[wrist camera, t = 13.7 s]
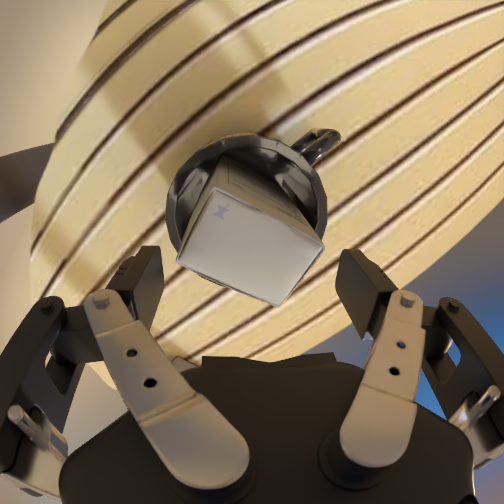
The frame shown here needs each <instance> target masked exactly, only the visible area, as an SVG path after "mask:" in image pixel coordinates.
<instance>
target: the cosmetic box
mask: <svg viewBox="0 0 504 504" xmlns="http://www.w3.org/2000/svg"><path fill="white" fill-rule="evenodd" d="M324 250H325V246H324V244H323V242H322V241H321V240H320V238H319V237H318V235H317V234H316V233H315V231H314V230H313V228H312V227H311V226H310V224H309V223H308V222H307V220H306V219H305V217H304V216H303V215H302V213H301V212H300V211H299V209H298V208H297V207H296V205H295V204H294V203H293V201H292V200H291V199H290V198H289V196H288V195H287V194H286V192H285V191H284V190H283V188H282V187H281V186H279V185H278V184H276V183H275V182H273V181H271V180H270V179H268V178H266V177H264V176H263V175H261V174H259V173H257V172H255V171H254V170H252V169H250V168H248V167H246V166H244V165H242V164H240V163H238V162H236V161H234V160H232V159H230V158H228V157H226V156H224V155H221V156H220V158H219V160H218V161H217V163H216V165H215V166H214V168H213V170H212V171H211V173H210V175H209V177H208V179H207V181H206V182H205V184H204V186H203V188H202V191H201V193H200V195H199V197H198V200H197V202H196V205H195V208H194V210H193V213H192V215H191V218H190V221H189V223H188V226H187V229H186V232H185V234H184V237H183V240H182V243H181V246H180V249H179V252H178V255H177V258H176V262H177V263H178V264H179V265H181V266H183V267H185V268H187V269H189V270H191V271H193V272H195V273H197V274H199V275H201V276H203V277H205V278H207V279H209V280H212V281H214V282H216V283H218V284H221V285H223V286H225V287H228V288H230V289H232V290H235V291H237V292H240V293H242V294H244V295H247V296H249V297H252V298H254V299H257V300H260V301H262V302H265V303H268V304H271V305H273V306H276V307H281V306H282V304H283V303H284V302H285V301H286V299H287V298H288V297H289V296H290V295H291V293H292V292H293V291H294V289H295V288H296V287H297V286H298V285H299V284H300V282H301V281H302V280H303V278H304V277H305V276H306V274H307V273H308V272H309V270H310V269H311V268H312V267H313V265H314V264H315V262H316V261H317V260H318V258H319V257H320V256H321V254H322V253H323V251H324Z"/></svg>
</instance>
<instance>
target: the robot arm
mask: <svg viewBox="0 0 504 504" xmlns="http://www.w3.org/2000/svg"><path fill="white" fill-rule="evenodd" d="M335 287H336V292H337V294H338V296H339V298H340V300H341V302H342V303H343V305H344V307H345V309H346V311H347V313H348V315H349V316H350V318H351V320H352V322H353V324H354V326H355V328H356V330H357V332H358V334H359V336H360V338H361V339H362V340H370V339H373V340H374V342H373V345H372V347H371V349H370V352H369V355H368V357H367V360H366V362H365V364H364V367H363V369H361V368H360V367H357V366H354V365H352V364H348V363H343V362H337V361H336V358H335V356H334V353H333V352H331V353H320V354H307V355H300V356H296V357H293V358H289V359H285V360H281V361H277V362H262V361H256V360H251V359H245V358H240V357H216V356H202V365H201V366H197V367H193V368H189V369H186V370H184V371H181V372H179V371H178V370H177V368H176V367H175V366H174V365H173V363H172V362H171V361H170V359H169V358H168V357H167V355H166V354H165V353H164V351H163V350H162V349H161V347H160V346H159V345H158V343H157V342H156V340H155V339H154V338H153V336H152V335H151V333H150V332H149V331H150V328H151V325H152V322H153V319H154V316H155V313H156V310H157V307H158V304H159V302H160V299H161V296H162V293H163V289H164V274H163V266H162V257H161V249H160V247H159V246H142V247H141V248H140V250H139V251H138V253H137V254H136V256H131V257H129V258H128V259H126V260H125V261H123V262H122V264H121V265H120V267H119V270H117V271H116V273H115V275H114V276H113V277H112V279H111V280H110V282H109V283H108V285H107V286H106V288H105V289H102V290H98V291H95V292H93V293H91V294H89V295H88V296H87V297H86V298H85V299H84V301H83V305H82V306H75V307H68V308H65V305H64V302H63V300H62V299H61V298H60V297H57V296H49V297H45V298H43V299H41V300H39V301H38V302H36V303H35V304H34V306H33V307H32V308H31V310H30V311H29V313H28V314H27V315H26V317H25V318H24V319H23V321H22V322H21V324H20V325H19V327H18V328H17V330H16V331H15V333H14V334H13V336H12V338H11V339H10V340H9V342H8V344H7V345H6V347H5V349H4V350H3V352H2V353H1V355H0V477H1V478H2V479H4V480H5V481H7V482H8V483H10V484H11V485H13V486H15V487H17V488H19V489H21V490H23V491H24V492H26V493H28V494H29V495H32V496H37V497H38V496H43V495H44V496H47V497H49V498H52V499H54V500H57V501H59V502H62V504H479V503H478V501H477V499H476V496H475V491H474V481H473V470H480V469H482V468H483V467H485V466H486V465H487V464H488V463H490V462H491V461H493V460H494V459H495V458H496V457H497V456H499V455H500V454H501V453H503V452H504V354H503V353H502V352H501V350H500V349H499V348H498V346H497V345H496V344H495V342H494V341H493V340H492V339H491V337H490V336H489V335H488V333H487V332H486V331H485V330H484V328H483V327H482V326H481V325H480V324H479V322H478V321H477V320H476V319H475V318H474V316H473V315H472V314H471V313H470V312H469V310H468V309H467V308H466V307H465V306H464V305H463V304H462V303H461V302H459V301H458V300H456V299H453V298H450V297H443V298H441V299H440V301H439V303H438V306H437V308H435V307H429V306H423V301H422V300H421V299H420V298H419V297H418V296H417V295H416V294H414V293H412V292H409V291H405V290H399V289H398V288H397V287H396V286H395V284H394V283H393V282H392V281H391V280H390V279H389V278H387V275H386V274H385V273H383V270H382V269H381V268H380V267H379V266H378V265H377V264H375V263H374V262H372V261H370V260H369V259H368V258H367V257H366V256H365V255H364V254H363V253H362V252H361V250H359V249H344V250H343V251H342V253H341V257H340V262H339V267H338V271H337V276H336V282H335ZM453 341H454V343H455V344H456V346H457V347H458V349H459V350H460V353H461V359H460V362H459V364H458V365H457V367H456V366H455V364H454V362H453V361H452V359H451V357H450V356H449V354H448V353H447V351H448V349H449V347H450V345H451V344H452V342H453ZM49 351H50V353H51V355H52V356H51V358H50V360H49V362H48V364H47V366H46V368H45V360H46V357H47V355H48V353H49ZM97 361H104V362H105V364H106V367H107V369H108V371H109V373H110V375H111V377H112V379H113V381H114V384H115V386H116V388H117V390H118V391H119V393H120V395H121V397H122V399H123V401H124V403H125V405H126V407H127V409H128V411H127V412H126V413H124V414H123V415H122V416H120V417H119V418H118V419H117V420H115V421H114V422H113V423H111V424H110V425H109V426H108V427H106V428H105V429H103V430H102V431H101V432H99V433H98V434H97V435H95V436H94V437H93V438H91V439H90V440H89V441H87V442H86V443H85V444H83V445H82V446H81V447H79V448H78V449H76V450H75V451H74V452H73V453H71V454H70V456H68V445H67V442H66V439H65V438H64V436H63V435H62V433H63V429H64V426H65V422H66V419H67V416H68V412H69V409H70V406H71V403H72V400H73V397H74V394H75V391H76V388H77V385H78V382H79V380H80V377H81V374H82V371H83V369H84V366H85V363H88V362H97ZM421 368H422V370H423V372H424V374H425V376H426V378H427V380H428V382H429V384H430V385H431V387H432V389H433V391H434V393H435V396H436V398H437V400H438V402H439V404H440V406H441V408H442V410H443V412H444V414H445V416H446V418H447V420H445V419H443V418H441V417H440V416H438V415H436V414H435V413H433V412H431V411H430V410H428V409H426V408H425V407H423V406H421V405H420V404H418V403H417V402H415V398H416V393H417V388H418V383H419V376H420V372H421Z"/></svg>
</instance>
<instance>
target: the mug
mask: <svg viewBox="0 0 504 504" xmlns="http://www.w3.org/2000/svg"><path fill="white" fill-rule="evenodd" d="M340 141H341V135H340V133H339V132H338V131H337V130H333V129H322V128H313V129H311V130H310V131H309V132H307V133H306V134H305V135H304V136H302V137H301V138H300V139H299V140H298V141H297V142H295V143H294V144H293V145H292V146H291V147H289V146H287V145H286V144H284V143H282V142H280V141H278V140H276V139H273V138H270V137H267V136H264V135H259V134H255V133H249V132H243V133H234V134H228V135H225V136H223V137H221V138H219V139H216V140H214V141H212V142H210V143H209V144H207V145H206V146H204V147H202V148H201V149H199V150H198V151H197V152H196V153H195V154H194V155H193V156H192V157H191V158H190V159H189V160H188V161H187V162H186V163H185V164H184V165H183V166H182V167H181V168H180V169H179V170H178V172H177V174H176V176H175V178H174V180H173V182H172V185H171V187H170V189H169V191H168V194H167V203H166V213H165V220H166V224H167V229H168V233H169V237H170V240H171V243H172V244H173V246H174V248H175V249H176V251H177V253H178V252H179V249H180V246H181V243H182V240H183V237H184V234H185V232H186V229H187V226H188V223H189V221H190V218H191V215H192V213H193V210H194V208H195V205H196V202H197V200H198V197H199V195H200V193H201V191H202V188H203V186H204V184H205V182H206V181H207V179H208V177H209V175H210V173H211V171H212V170H213V168H214V166H215V165H216V163H217V161H218V160H219V158H220V156H221V155H224V156H226V157H228V158H230V159H232V160H234V161H236V162H238V163H240V164H242V165H244V166H246V167H248V168H250V169H252V170H254V171H255V172H257V173H259V174H261V175H263V176H264V177H266V178H268V179H270V180H271V181H273V182H275V183H276V184H278V185H279V186H281V187H282V188H283V190H284V191H285V192H286V194H287V195H288V196H289V198H290V199H291V200H292V201H293V203H294V204H295V205H296V207H297V208H298V209H299V211H300V212H301V213H302V215H303V216H304V217H305V219H306V220H307V222H308V223H309V224H310V226H311V227H312V228H313V230H314V231H315V233H316V234H317V235H318V237H319V238H320V240H321V241H322V238H323V235H324V232H325V228H326V225H327V196H326V193H325V191H324V188H323V185H322V182H321V180H320V177H319V175H318V173H317V172H316V171H315V170H314V168H313V167H312V165H313V164H315V163H316V162H317V161H318V160H319V159H321V158H322V157H323V156H324V155H325V154H327V153H328V152H329V151H330V150H331V149H333V148H334V147H335V146H336V145H337V144H339V142H340ZM198 275H199V274H198ZM199 276H201V275H199ZM201 277H202V278H204V279H207V278H205V277H203V276H201ZM207 280H209V279H207ZM209 281H211V282H213V283H215V284H218V283H216V282H214V281H212V280H209ZM218 285H220V286H223V285H221V284H218ZM224 287H225V286H224Z"/></svg>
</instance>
